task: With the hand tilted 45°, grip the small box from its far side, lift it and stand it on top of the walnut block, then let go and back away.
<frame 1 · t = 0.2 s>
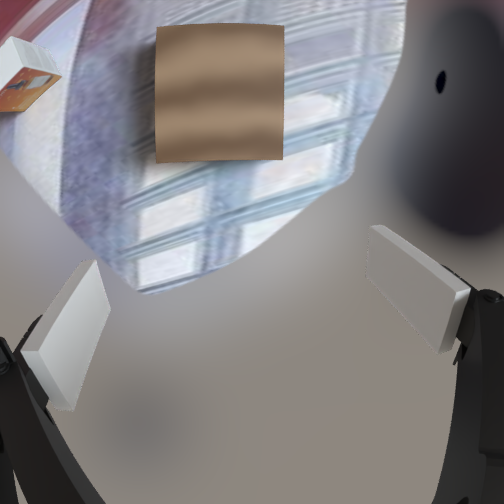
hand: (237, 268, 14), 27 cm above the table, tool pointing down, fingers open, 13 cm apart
walnut block: (218, 94, 36), on the table
small box: (37, 80, 31), on the table
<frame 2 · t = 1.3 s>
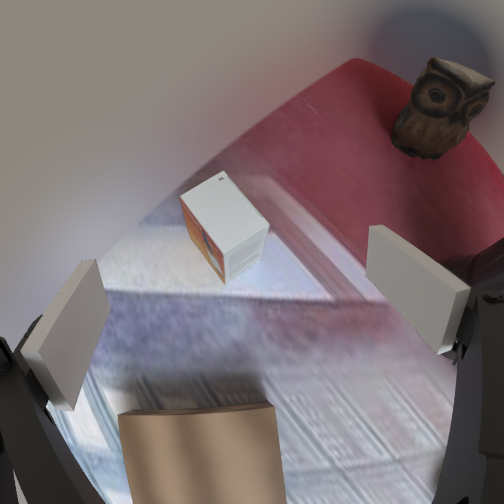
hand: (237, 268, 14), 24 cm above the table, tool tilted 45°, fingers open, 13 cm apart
walnut block: (207, 462, 30), on the table
small box: (225, 250, 40), on the table
owl: (417, 137, 51), on the table
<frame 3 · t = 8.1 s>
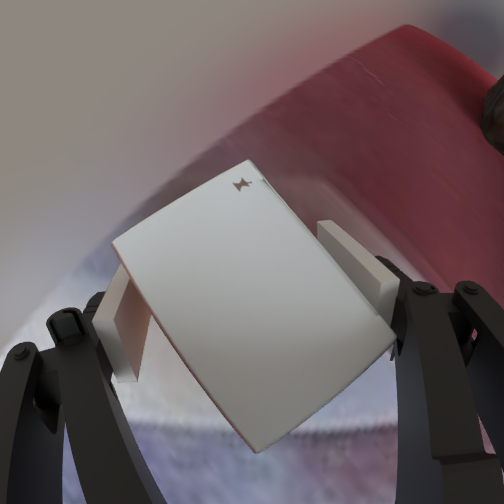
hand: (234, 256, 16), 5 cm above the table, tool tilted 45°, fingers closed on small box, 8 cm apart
small box: (242, 334, 19), on the table, touching gripper
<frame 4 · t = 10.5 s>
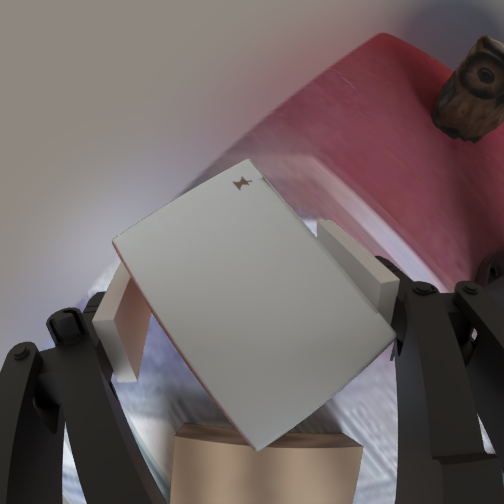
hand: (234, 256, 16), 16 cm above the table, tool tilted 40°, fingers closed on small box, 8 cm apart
walnut block: (258, 489, 25), on the table
small box: (242, 334, 19), point 12 cm above the table, touching gripper
owl: (455, 118, 43), on the table
when the fingers open (12 cm above the table, at t = 13.1 s): small box drops 2 cm, resting on walnut block.
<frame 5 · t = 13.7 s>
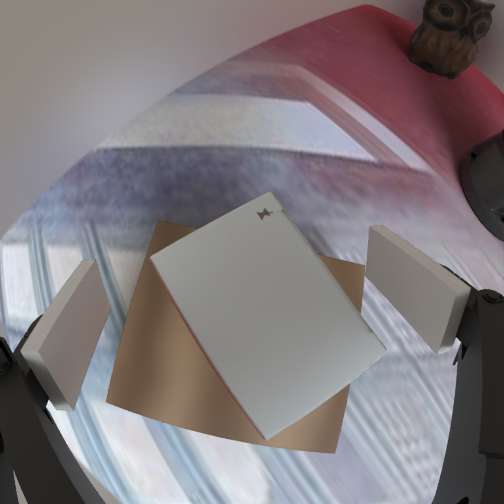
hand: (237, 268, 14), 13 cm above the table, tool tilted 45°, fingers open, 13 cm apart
walnut block: (239, 345, 26), on the table, touching small box
small box: (250, 339, 21), point 5 cm above the table, touching walnut block
owl: (431, 61, 46), on the table
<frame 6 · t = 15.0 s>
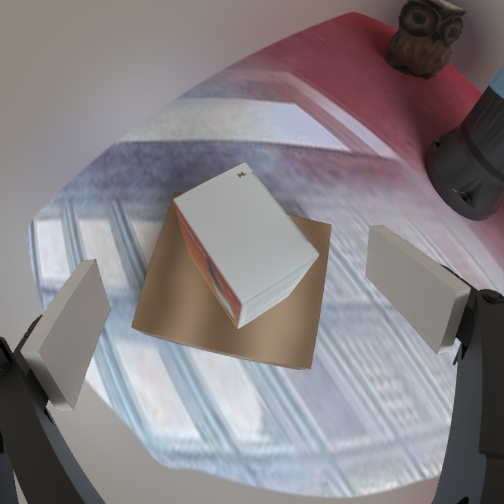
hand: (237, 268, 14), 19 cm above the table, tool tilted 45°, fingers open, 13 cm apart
walnut block: (236, 291, 34), on the table, touching small box
small box: (238, 278, 28), point 5 cm above the table, touching walnut block
owl: (408, 64, 54), on the table
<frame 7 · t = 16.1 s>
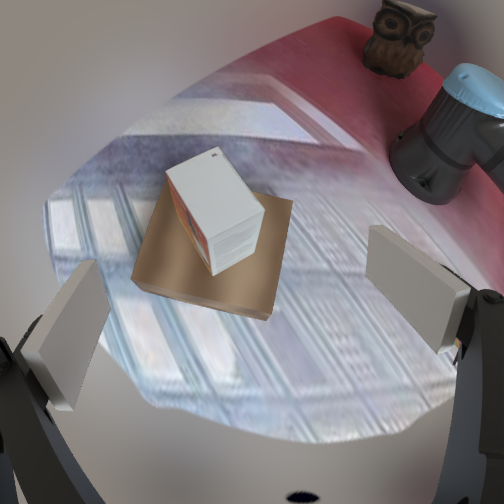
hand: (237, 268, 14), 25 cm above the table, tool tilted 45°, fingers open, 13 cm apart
walnut block: (216, 255, 41), on the table, touching small box
small box: (216, 237, 36), point 5 cm above the table, touching walnut block
owl: (384, 65, 61), on the table
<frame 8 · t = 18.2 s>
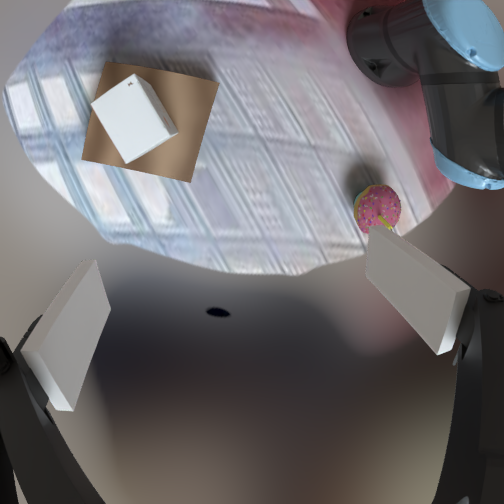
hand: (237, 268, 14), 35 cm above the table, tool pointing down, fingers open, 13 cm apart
cupcake: (365, 202, 52), on the table
walnut block: (153, 120, 42), on the table
small box: (147, 119, 37), point 5 cm above the table
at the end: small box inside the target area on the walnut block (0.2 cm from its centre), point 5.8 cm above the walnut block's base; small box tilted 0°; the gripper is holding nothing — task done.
